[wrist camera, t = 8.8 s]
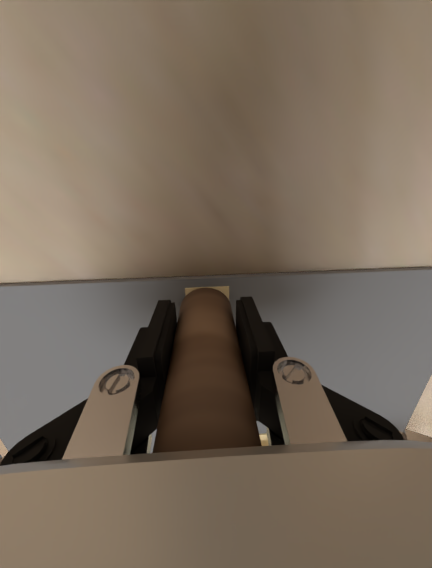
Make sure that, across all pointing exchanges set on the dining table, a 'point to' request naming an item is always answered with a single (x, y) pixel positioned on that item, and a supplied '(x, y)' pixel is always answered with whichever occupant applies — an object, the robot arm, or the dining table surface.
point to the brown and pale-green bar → (206, 381)
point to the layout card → (271, 306)
